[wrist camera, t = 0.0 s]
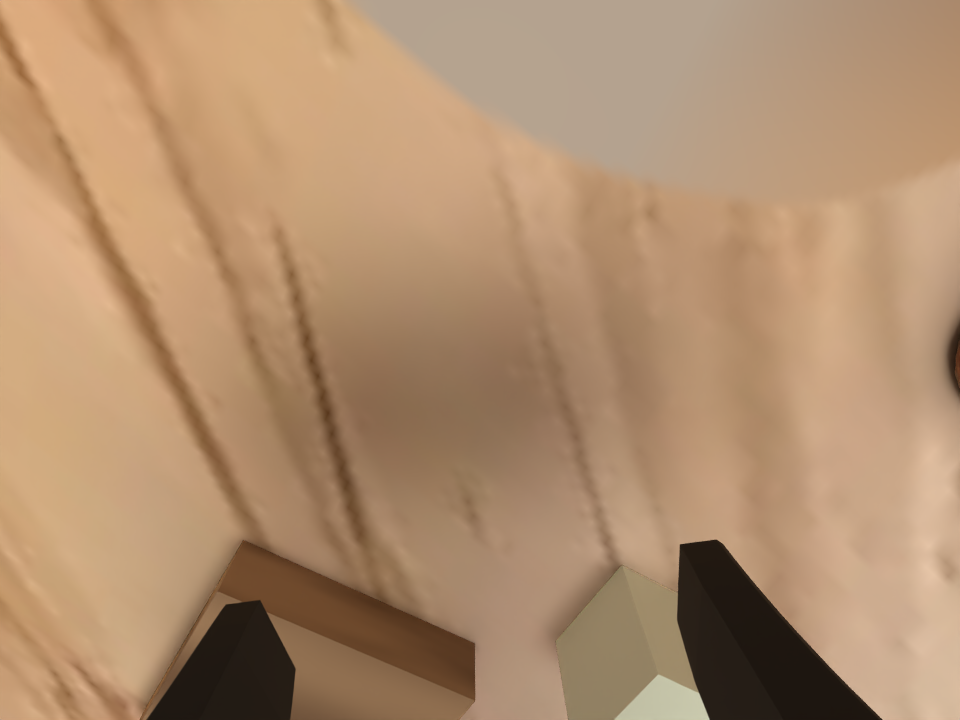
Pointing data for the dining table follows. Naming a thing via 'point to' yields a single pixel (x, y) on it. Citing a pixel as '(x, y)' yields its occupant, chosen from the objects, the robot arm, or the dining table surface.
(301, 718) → the walnut block
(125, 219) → the dining table surface
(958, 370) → the sauce bottle
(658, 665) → the sage cube
